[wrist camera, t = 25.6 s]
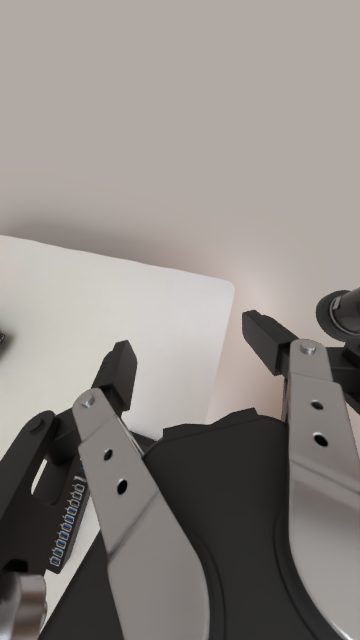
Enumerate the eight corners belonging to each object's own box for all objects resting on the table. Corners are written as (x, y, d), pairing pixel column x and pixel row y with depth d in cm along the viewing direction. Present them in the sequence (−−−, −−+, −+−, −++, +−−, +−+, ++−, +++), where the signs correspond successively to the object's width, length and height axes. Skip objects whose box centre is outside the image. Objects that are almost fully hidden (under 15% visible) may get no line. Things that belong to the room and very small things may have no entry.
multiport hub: (48, 549, 29) (36, 564, 27) (79, 459, 33) (71, 466, 31) (69, 559, 29) (58, 576, 27) (98, 467, 32) (91, 474, 30)
